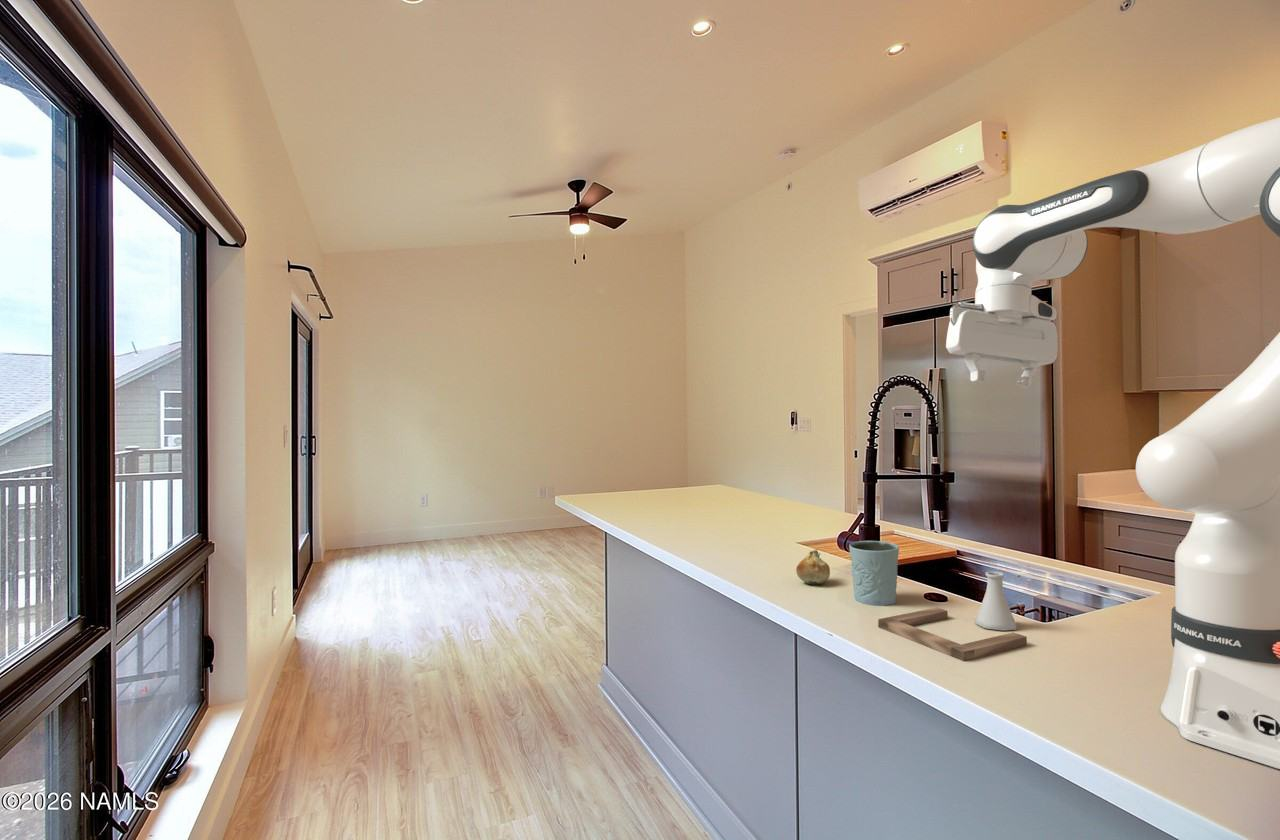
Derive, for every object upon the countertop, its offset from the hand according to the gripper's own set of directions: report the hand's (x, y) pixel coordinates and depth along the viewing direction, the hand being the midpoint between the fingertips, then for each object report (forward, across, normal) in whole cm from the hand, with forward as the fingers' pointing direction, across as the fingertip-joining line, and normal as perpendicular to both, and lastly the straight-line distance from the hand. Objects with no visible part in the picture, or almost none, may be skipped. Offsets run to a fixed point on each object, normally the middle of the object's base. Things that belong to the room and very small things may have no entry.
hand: (1000, 384), depth 115 cm
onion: (+43, -9, +49) cm, 66 cm away
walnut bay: (+45, -1, +10) cm, 47 cm away
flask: (+44, +10, +12) cm, 47 cm away
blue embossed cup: (+44, -2, +33) cm, 55 cm away
